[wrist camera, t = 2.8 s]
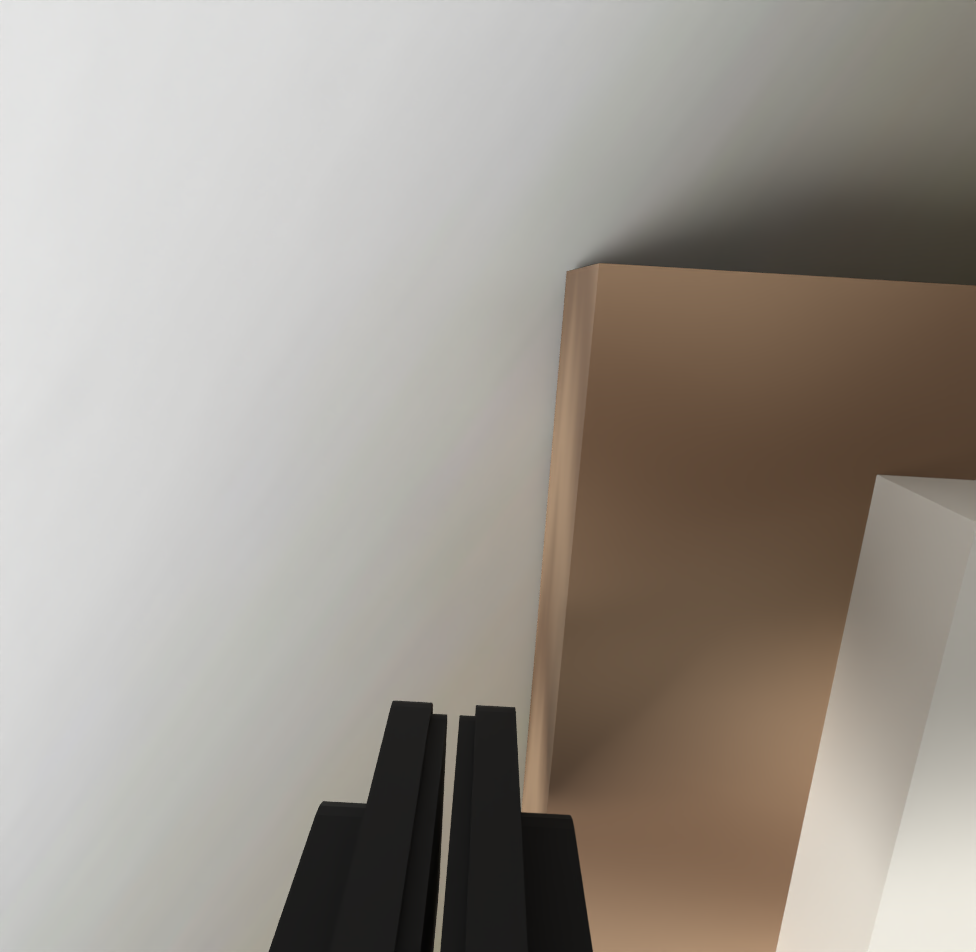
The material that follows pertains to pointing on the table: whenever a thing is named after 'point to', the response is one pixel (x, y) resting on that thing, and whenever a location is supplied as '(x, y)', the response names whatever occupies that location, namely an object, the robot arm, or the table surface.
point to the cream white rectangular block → (898, 741)
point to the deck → (717, 568)
